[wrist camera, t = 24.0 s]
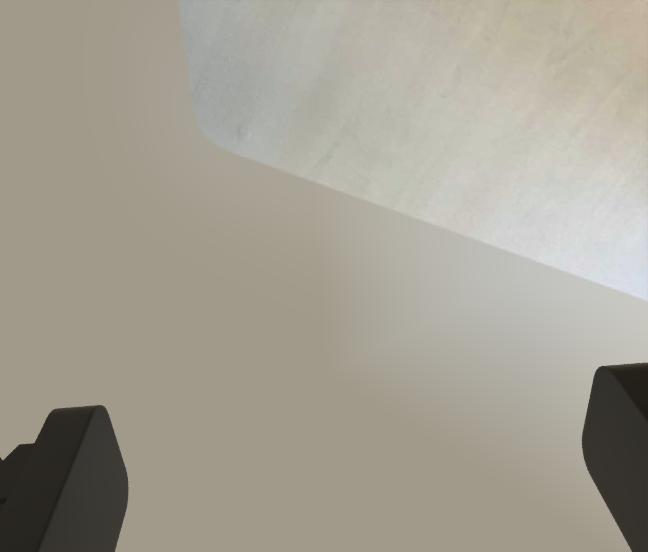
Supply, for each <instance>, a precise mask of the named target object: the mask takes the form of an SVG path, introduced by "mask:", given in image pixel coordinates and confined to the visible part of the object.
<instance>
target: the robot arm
mask: <svg viewBox="0 0 648 552" xmlns="http://www.w3.org/2000/svg"><path fill="white" fill-rule="evenodd" d="M582 448H583V455H584V460H585V463H586V466H587V469H588V471H589V473H590V475H591V477H592V479H593V481H594V483H595V484H596V486H597V488H598V490H599V492H600V494H601V496H602V497H603V499H604V501H605V503H606V504H607V507H608V508H609V510H610V512H611V514H612V516H613V517H614V519H615V521H616V523H617V525H618V526H619V528H620V530H621V532H622V534H623V536H624V538H625V539H626V541H627V543H628V545H629V547H630V549H631V550H632V552H648V363H636V364H623V365H610V366H601V367H599V368H598V369H597V370H596V372H595V375H594V379H593V385H592V389H591V394H590V399H589V404H588V409H587V414H586V419H585V424H584V429H583V434H582ZM127 502H128V477H127V472H126V468H125V465H124V462H123V459H122V455H121V452H120V449H119V446H118V442H117V439H116V436H115V433H114V430H113V427H112V424H111V420H110V417H109V414H108V412H107V410H106V408H105V407H104V406H102V405H97V406H85V407H72V408H59V409H54V410H53V411H51V413H50V414H49V415H48V417H47V419H46V421H45V423H44V425H43V428H42V429H41V431H40V434H39V435H38V437H37V439H36V441H35V443H33V444H20V445H18V447H16V449H14V450H13V451H12V452H11V453H10V454H9V455H8V456H7V457H6V458H5V459H4V460H2V459H1V458H0V552H115V548H116V545H117V541H118V538H119V534H120V531H121V527H122V523H123V519H124V516H125V512H126V508H127Z"/></svg>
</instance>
